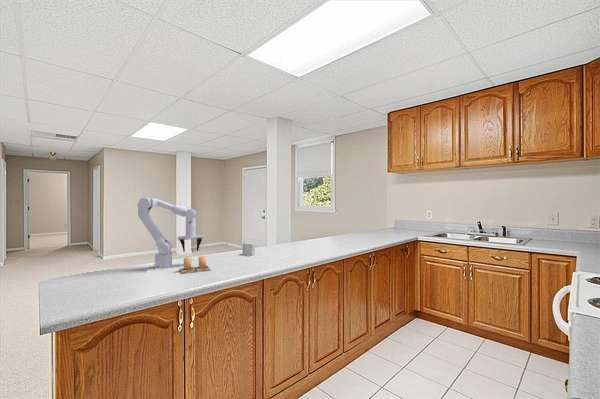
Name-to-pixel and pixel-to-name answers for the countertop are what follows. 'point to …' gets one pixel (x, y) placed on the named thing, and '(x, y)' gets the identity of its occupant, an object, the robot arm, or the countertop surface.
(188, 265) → the peg
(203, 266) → the terracotta peg
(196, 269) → the board
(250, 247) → the medicine box
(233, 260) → the countertop surface
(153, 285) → the countertop surface
